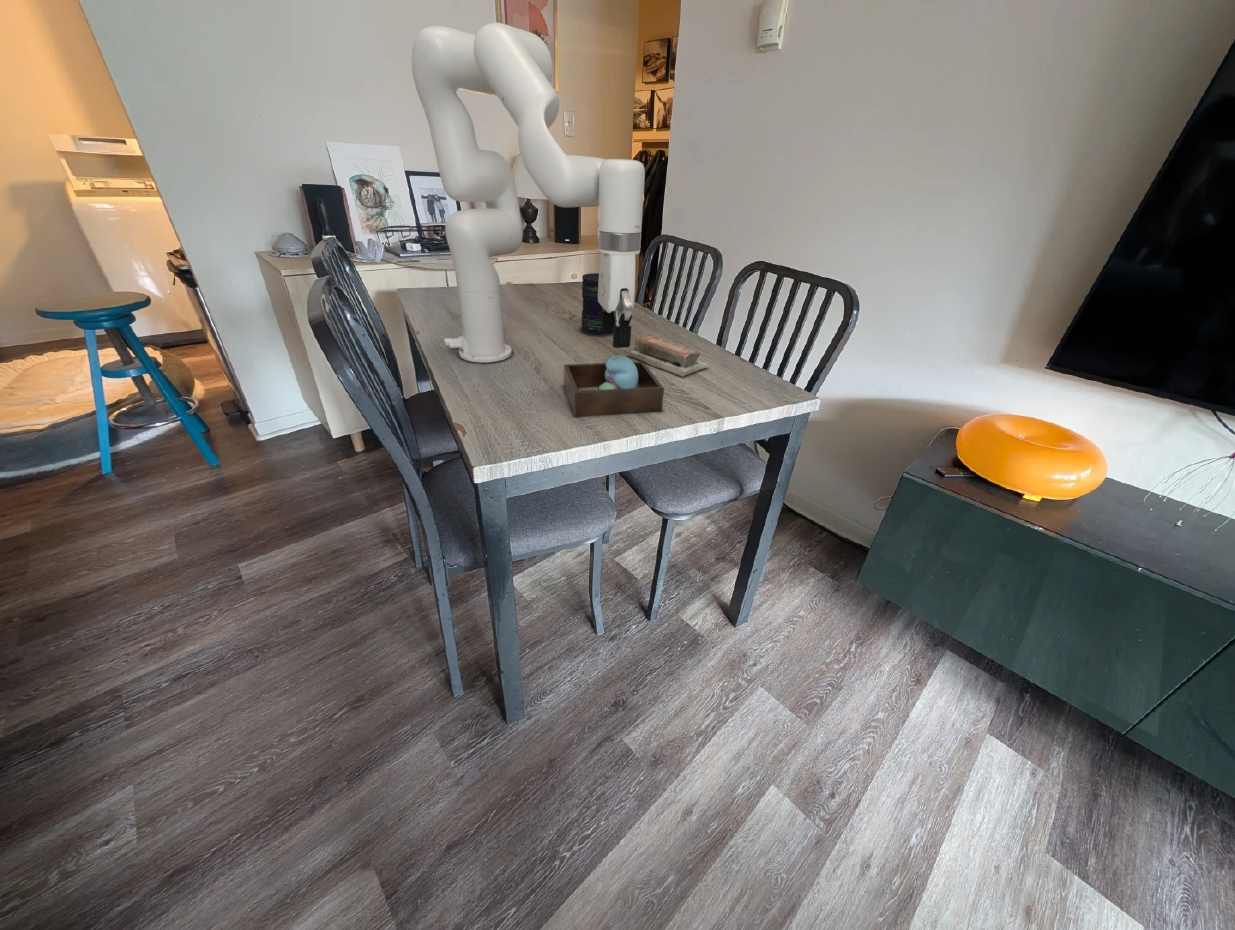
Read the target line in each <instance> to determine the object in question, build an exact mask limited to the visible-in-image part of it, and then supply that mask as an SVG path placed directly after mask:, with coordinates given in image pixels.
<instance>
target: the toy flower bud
mask: <svg viewBox="0 0 1235 930" xmlns="http://www.w3.org/2000/svg"><path fill="white" fill-rule="evenodd" d="M633 362H634V361H633V360H632V359H630V358H629V357H627V356H625V355H622V354H617V355H612V356H610V357H609V358H607V360H606V361H605V363H606V368H607V369H606V371H605V379H606V381H607V382H605V383H603V384H602V385H600V386H598V389H597V390H607V389H627V388H638V385H639V384H638V371H637V368H636V366H635V364H634V363H633Z"/></svg>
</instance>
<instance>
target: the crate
mask: <svg viewBox="0 0 1235 930" xmlns="http://www.w3.org/2000/svg"><path fill="white" fill-rule="evenodd" d="M632 362H633V363H634V364H635V366H636V368H637V371H638V384H637V385H639V387H636V388H627V389H607V390H598V389H591V390H590V389H589V390H579V388H588V387H599V386H600V385H602V384H603V383H605V382H607V381H606V379H605V371H606V369H607V368H606V362H597V363H595V362H594V363H572V364H571V363H567V364H563V387H564V391H565V392H566V395H567V398H568V401H569V403H570V406H571V409H572V412H573V414H574V416H575V417H589V416H603V415H605V416H606V415H621V414H638V413H652V412H653V413H654V412H662V409H663V401H664V393H665V387H664V386H663V385H662V384H661V382H660V381H659V380H658V379H657V378H656V376H655V375H654V374H653V373H652V371H651V370H650V368H649V367H648V366H647V365H646V364H645V362H643V361H632Z"/></svg>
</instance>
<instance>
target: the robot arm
mask: <svg viewBox="0 0 1235 930" xmlns="http://www.w3.org/2000/svg"><path fill="white" fill-rule="evenodd" d="M411 71H412V77H413V82H414V87H415V89H416V92H417V95H418V97H419V98H418V99H419V100H420V103H421V106H422V108H423V111H424V114H425V117H426V119H427V123H428V127H429V131H430V136H431V141H432V145H433V150H434V155H435V159H436V163H437V168H438V173H439V176H440V180H441V184H442V187H443V190H444V192H445V193H446V195H447V197H449V198H450V199H451V200H453V201H456V202H461V203H482V202H483V203H485V208H469V209H468V208H467V209H461V210H457V211H455V212H454V213H452V214H450V216H448V218H447V220H446V222H445V228H444V231H445V238H446V242H447V245H448V249H449V251H450V255H451V258H452V263H453V267H454V273H455V279H456V280H455V281H456V288H457V293H458V302H459V312H460V319H461V327H462V334H461V336H457V337H444V345H445V347H449V348H450V349H458V355H459V358H461V359H463V360H464V361H467V362H471V363H483V364H484V363H485V364H486V363H496V362H500V361H501V362H502V361H504V360H506V359H508V358H510V357H511V356H512V354H513V353H512V347H511V346H510V345H508V344H506V343H505V341H506V340H505V330H504V318H503V317H504V316H503V303H502V289H501V280H500V276H499V273H498V271H497V269H496V268H495V266H494V263H493V262H492V260H491V258H492V257H497V256H505V255H510V254H513V253H515V252H517V251H518V250H519V249H520V247H521V246H522V242H523V233H524V232H523V222H522V217H521V216H522V215H521V211H520V205H519V197H518V193H517V185H516V181H515V176H514V172H513V171H512V170H513V169H512V168H511V166H510V164H509V162H508V161H507V159H506V158H505V157H504V156H503V155H502V154H500V153H499V152H498V151H497V152H496V151H493V150H488V149H480V148H479V145H478V142H477V137H476V131H475V126H474V123H473V119H472V116H471V114H470V113H469V111H468V109H467V107H466V105H465V104H464V103H463V100H461V98H460V96H459V95H458V94H457V91H458V90H461V91H466V92H470V93H477V94H482V95H486V96H487V95H488V96H496V97H497V98H498V99H499V101H500V102H501V104H502V106H503V107H504V108H505V110H506V111H507V113H508V115H509V116H510V117H511V119H512V120H513V121H514V123H515V125H516V127H518V131H517V143H518V149H519V154H520V158H521V161H522V164H523V166H524V168H525V170H526V172H527V174H528V175H529V176H530V178H531V179H532V181H533V182H534V184H535V185H536V187H537V188H538V189H539V191H540V192H541V193H542V195H543V196H544V197H545V198H546V199H547V200H548V201H549V202H551V204H553V205H555V206H557V207H559V208H582V207H583V208H592V207H598V215H597V219H598V221H597V222H598V223H597V224H598V225H597V252H598V253H600V256H599V257H600V259H599V268H598V270H599V271H598V273H599V283H598V302H599V303H600V305H601V306H602V310H603V311H602V331H603V332H613V334H612V346H613V348H615V349H621V348H630V347H631V341H632V340H631V337H632V326H633V324H632V323H633V321H632V319H633V315H632V312H633V310H634V307H635V297H636V267H637V266H636V255H640V253H641V244H642V243H641V241H642V224H643V212H644V211H643V210H644V195H645V179H646V170H645V166H644V164H643V163H642V162H641V161H639V160H635V159H625V158H624V159H623V158H609V159H605V158H601V157H597V156H587V155H577V154H576V155H575V154H566V153H565V152H564V151H563V149H562V148H561V146H560V145H559V144H558V143H557V141H556V140H555V138H554V137H553V135H552V133H551V132H550V128H551V126H552V125H553V124H554V123H555V121H556V119H557V117H558V115H559V111H560V105H561V104H560V98H559V95H558V93H557V91H556V89H555V88H554V87H553V85H552V84H551V82H552V78H553V72H554V66H553V58H552V55H551V52H550V50H549V48H548V46H547V45H546V43H545V41H543V39H542V38H541V37H540V36H538V35H537V34H535V33H533V32H530V31H528V30H524V29H521V28H518V27H514V26H512V25H509V24H506V23H502V22H490V23H487V24H484V25H483V26H481V28H480V29H479V30H478V31H477V32H476V34H474V33H470V32H467V31H464V30H461V29H458V28H453V27H449V26H444V25H430V26H426V27H423V28H422V29H421V30H420V31H419V32H418V33H417V34H416V36H415V38H414V40H413V44H412V50H411Z"/></svg>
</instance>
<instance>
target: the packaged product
mask: <svg viewBox="0 0 1235 930" xmlns="http://www.w3.org/2000/svg"><path fill="white" fill-rule="evenodd" d="M700 354H701V353H700V352H699V351H696V350H694V349H691V348H688V347H686V346H683V345H680V344H677V343H674V342H672V341H669V340H666V339H664V338H661V337H658V336H655V335H653V334H652V335H651V334H648V335H645V336H641V337H638V338H636V339H635V341H634V348H633V349H630V350H629V353H628V356H629V357H631V358H633V359H636V360H639V361H640V362H644V363H646V364H648V365H650V366H651V367H654V368H658V369H662V370H665V371H667V372H670V373H672V374H674V375H677V376H680V377H681V378H683V377H686V376H688V375H690V374H692V373H695V372H698V371H700V370H704V369H707V368H708V365H709V363H708V362H707V363H706V362H703V361H702V360H698V358H699V357H700Z"/></svg>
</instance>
